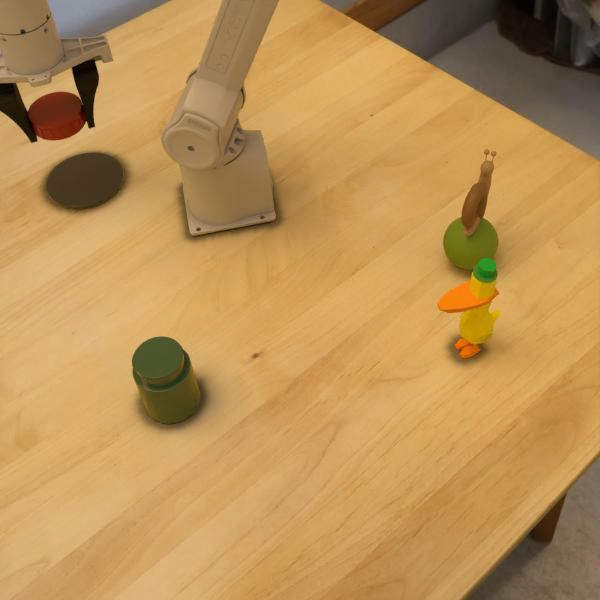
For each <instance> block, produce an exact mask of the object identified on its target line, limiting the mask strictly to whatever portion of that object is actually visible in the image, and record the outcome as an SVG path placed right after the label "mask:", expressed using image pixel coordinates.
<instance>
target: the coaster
mask: <svg viewBox="0 0 600 600" xmlns="http://www.w3.org/2000/svg"><path fill="white" fill-rule="evenodd" d="M124 180H125V172H124V168H123V166H122V164H121V163H120V161H119V160H118V159H116V158H115V157H114V156H112V155H109V154H107V153H104V152H95V151H94V152H83V153H78V154H74V155H73V156H69V157H67V158H66V159H64V160H62V161H61V162H59V163H58V164H57V165H56V166H54V168H53V169H52V170H51V171H50V173H49V174H48V176H47V178H46V181H45V190H46V193H47V195H48V197H49V199H50V200H51V201H52V202H53V203H54V204H56V205H57V206H59V207H61V208H64V209H69V210H86V209H90V208H95V207H98V206H100V205H102V204H104V203H106V202H107V201H109V200H111V199H112V198H113V197H114V196H115V195H117V193H118V192H119V191H120V190H121V188H122V186H123V183H124Z"/></svg>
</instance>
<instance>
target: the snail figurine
mask: <svg viewBox="0 0 600 600" xmlns="http://www.w3.org/2000/svg"><path fill="white" fill-rule="evenodd" d="M483 154H484V155H485V159H484V161H483V162H482V163H481V164H480V168H479V169H480V172H479V177H478V181H477V182H476V183H474V184H473V185H472V186H471V187H470V189H469V191H468V193H467V194H466V196H465V199H464V201H463V205H462V209H461V216H460V217H458V218H456V219H454V220H453V221H452V222H451V223H450V224H449V225H448V226H447V228H446V230H445V232H444V235H443V239H442V247H443V250H444V251H443V252H444V253H445V255H446V257H447V259H448V260H449V261H450V262H451V263H452V264H453V265H455V266H457V268H460V269H464V270H473V268H474V267H475V266H476V265H478V263H479V261H480V260H481V259H483V258H490V259H492V260H494V257H495V256H496V254H497V252H498V248H499V236H498V232H497V230H496V228H495V227H494V225H493V224H492V222H490V221H489V220H488V219H486V218H484V216H485V214H486V209H487V204H488V198H489V194H490V190H491V186H492V175H493V173H494V170H495V165H494V157H496V156H497V151H496V150H492V151H490V150H489V149H488V148H486V149H484V150H483ZM488 155H490V156H491V157H492V159H491V160H489V159H488V160H487V157H488Z"/></svg>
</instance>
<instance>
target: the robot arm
mask: <svg viewBox="0 0 600 600" xmlns="http://www.w3.org/2000/svg"><path fill="white" fill-rule="evenodd" d="M279 1H280V0H221V3H220V6H219V8H218V11H217V14H216V16H215V20H214V22H213V25H212V28H211V31H210V33H209V36H208V39H207V42H206V44H205V47H204V50H203V52H202V55H201V58H200V60H199V64H198V66H196V67H195V68H194V69H193V70H192V71H191V72H190V73H189V74H188V76H187V79H186V81H185V86H184V89H183V90H182V93H181V95H180V97H179V100H178V101H177V103H176V106H175V108H174V110H173V112H172V114H171V116H170V119H169V121H168V122H167V123H166V124H165V126H164V127H163V130H162V131H161V136H160V142H161V145H162V146H161V147H162V148H163V150H164V152H165V153H166V154H167V156H168V157H169V158H170V159H172V161H174V162H175V163H177V164H178V167H179V171H180V174H181V178H182V179H181V180H182V182H183V185H182V191H183V199H184V205H185V211H186V218H187V224H188V230H189V234H190V235H191V236H192V237H195V236H201V235H205V234H210V233H217V232H221V231H226V230H232V229H233V230H234V229H238V228H242V227H249V226H253V225H259V224H264V223H269V222H273V221H275V220H276V219H277V215H276V210H275V203H274V195H273V190H274V182H273V178H272V173H271V172H270V166H269V160H268V155H267V150H266V149H267V148H266V144H265V140H264V136H263V133H262V130H261V129H243V127H242V126H241V122H240V117H239V114H240V113H241V110H242V109H243V108H244V106H245V104H246V99H247V91H246V87H245V81H246V79H247V77H248V75H249V72H250V69H251V68H252V65H253V62H254V60H255V58H256V56H257V53H258V51H259V48H260V46H261V44H262V41H263V39H264V37H265V35H266V32H267V30H268V27H269V25H270V23H271V20H272V19H273V16H274V13H275V11H276V9H277V7H278V5H279ZM51 10H52V9H51V8H50V5H49V1H48V0H0V112H1V113H2V114H4V115H5V116H6V117H8V118H9V119H10V120H12V121H13V122H14V123H15V124H16V125H17V126H18V127H19V129H21V130H22V132H23V133H24V134H25V136H26V137H27V138H28V140H29V141H30V143H31V144H33V143H37V142H38V140H39V139H38V136H36V134H35V132H34V130H33V128H32V125H31V123H30V121H29V118H28V109H27V107H26V104H25V102H24V100H23V98H22V95H21V93H20V90H19V86H18V84H24V83H29V86H30V87H31V88H38V87H42V86H47V85H49V84H51V83H52V82H53V77H56V76H57V75H60V74H62V73H64V72H66V71H68V70H71V72H72V77H73V80H74V84H75V87H76V90H77V92H78V97H79V98H80V100H81V102H82V105H83V108H84V112H85V116H86V124H87V126H88V129H94V128H95V127H96V124H95V123H96V122H95V117H94V116H95V115H94V110H95V99H96V94H97V89H98V87H99V81H100V74H99V70H98V66H97V63H96V62H100V61H101V62H102V63H103V64H108V63H112V62H114V57H113V54H112V50H111V47H110V43H109V40H108V37H107V34H102V35H97V36H83V37H61V36H60V34H59V31H58V28H57V25H56V22H55V20H54V15H53V13H52V11H51Z"/></svg>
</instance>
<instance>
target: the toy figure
mask: <svg viewBox="0 0 600 600" xmlns="http://www.w3.org/2000/svg"><path fill="white" fill-rule="evenodd" d="M497 269H498V265H497V262H496V260H494V259H490V258H483V259H481V260H480V261H479V263H478V265H476V266H475V267H474V268H473V269H472V272H471V276H470V280H468V281H465V282H464V283H461V284H459V285H456V286H455V287H453V288H451V289H449V290H448V291H447V292H446V293H444V294H443V295H442V296H441V297H440V299H439V300H438V301H437V303H436V305H437V308H438V310H439V311H442V312H444V313H446V314H456V313H461V315H460V316H459V318H460V319H459V326H458V327H459V335H460V337H462V338H459V339H458V340H457V342H456V343H454V347H455V350H456V351H459V353H458V355H459V356H460V357H461V359H469V358H471V357H473V356H475V355H476V354H479V352H480V351H481V348H480V347H479V344H484V343H486V342H487V341H489V340H491V339H492V337H493V334H494V331H493V330H494V325H495V324H496V321H498V318H499V316H501V314H502V312H503V309H497V310H489V309H490V307H491V304H492V301H493V300H494V299H495V298H497V296H499V295H500V292H499V290H498V289H497V287H496V286H497V285H496V284H497V278H498V275H499V274H498V273H499V272H498V270H497Z"/></svg>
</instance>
